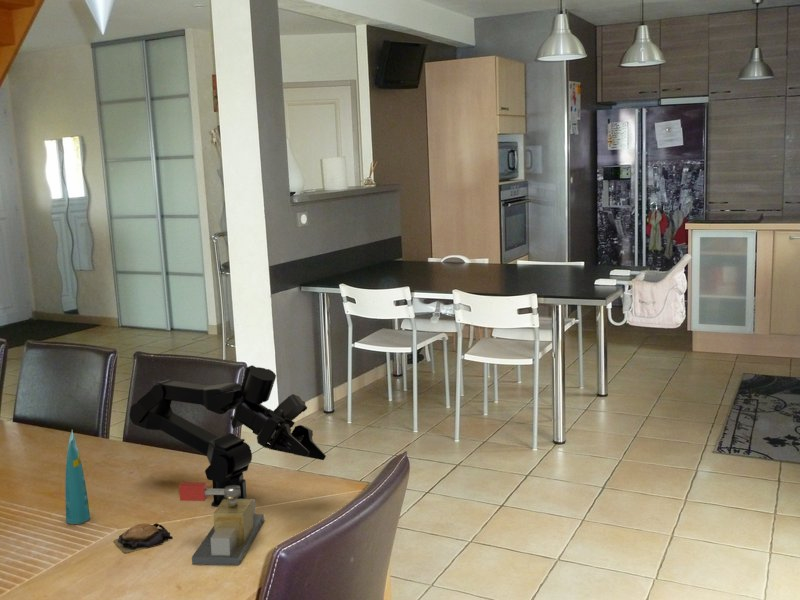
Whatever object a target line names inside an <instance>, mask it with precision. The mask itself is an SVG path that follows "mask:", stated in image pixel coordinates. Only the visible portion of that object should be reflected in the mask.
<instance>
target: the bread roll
mask: <svg viewBox="0 0 800 600" xmlns="http://www.w3.org/2000/svg"><path fill="white" fill-rule="evenodd" d="M158 527H159V528H158ZM170 532H171V531H170ZM170 532H169V531H168V530H167V529H166V528H165V527H164V525H162V524H159V523H157V522H155V523H154V524H150V523H139V524H135V525H133V526H131V527H130V528H128V529H127V530H126V531H124V532H123V533H121V534H119V536H118V538H115V539H114V540H113V541H112V542H113V544H114V545H115V546H116V547H117V548H118V549H119V550H120V552H121V553H123V554H124V555H125V554H130V553H134V552H138V551H142V550H146V549H150V548H153V547H156V546H158V545H162V544H165V543H167V542H170V540H173V539H174V538H173V537H174V536H171V533H170Z"/></svg>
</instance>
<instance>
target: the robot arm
mask: <svg viewBox="0 0 800 600" xmlns="http://www.w3.org/2000/svg"><path fill="white" fill-rule="evenodd" d="M276 378H277V375H276V373H275V372H274V371H273V370H271V369H269V368H268V369H267V368H265V367H260V366H259V367H257V366H255V365H252V364H251V365H248V366H246V367H245V371H244V376H243V380H242V383H241V384H240V383H238V382H227V383H226V382H225V383H220V384H213V385H207V384H200V383H192V382H185V381H184V382H183V381H179V380H178V381H177V380H174V379H171V378H169V379H166V380H163V381H160V382H157V383H155V384H154V385H153V386H152V387H151V389H150V390H149V391H148V392H147V393H146V394H144V395H142V397H141V398H140V399H139V400H137V402H135V403H133V404H132V406H130V409H129V410H130V411H129V419H130V421H131V423H132V424H133V425H134V426H135V427H139V428H141V429H144V430H147V431H159V432H163V433H165V434H166V435H168V436H170V437H172V438H173V439H175V440H177V441H179V442H180V443H182V444H185V445H186V446H188V447H190V448H192V449H193V450H195V451H197V452H199V453H200V454H202V455H204V456H205V457H206V458H207V461H208V463H209V466H208V467H206V468H205V470H204V473H205V476H206V479H207V481H211V482H212V489H224V488H225V487H226V486H230V485H238V486H240V492H241V496H240V497H238V498H237V499H247V498H246V497H247V482H246V481H247V480H246V479H245V478H244V473H245V472H247V471H248V470H249V466H250V464H251V462H252V460H253V454H252V449H251V446H250V445H249V444H248V443H247V442H245V439H244V438H240V437H238V436H237V435H236V434H234V433H232V432H231V433H230V432H229V433H228V434H225V435H223V436H221V437H220V436H217V435H216V434H214V433H212V432H210V431H207V430H205V429H204V428H203V427H200V426H198V425H196V424H194V423H193V422H191V421H189V420H187V419H186V418H184V417H182V416H180V415H178V414H176V413H175V412H174V411H173V408H172V405H173V403H174V402H180V403H187V404H195V405H199V406H200V405H201V406H203V407H204V408H205V409H206V410H207V411H210V412H212V413H215V414H218V415H224V414H226V413H229V412H231V411H234V410H235V411H234V413H233V415H231V416H230V417H229V418H230V421H231V427H232V429H237V428H239V427H241V426H245V427H246V428H247V429H249V430H251V431H252V434H254V435H256V440H257V441H256V442H257V444H258V445H260V446H262V447H263V448H264V449H269V450H271V451H276V452H281V453H285V454H287V453H288V454H293V455H295V456H301V457H304V458H305V457H306V458H310V459H314V460H320V461H324V460H325V459H326V457H327V456H326V454H325V453H324V452H323V451H322V449H320V447H319V446H318V445H317V444H316V443H315V441H313V435H314V432H313V429H311V428H309V427H307V426H305V425H303V424H299V425H296V426H294V425H295V424H296V422H295V421H294V420H295V419H296V418H297V417H298V416H300V415H301V414H302V413H304V412H305V411H307V410H308V406H307V404H306V401H304V400H302V398H301V397H300V396H299V395H296V394H294V393H293V394H290V395H289V396H287V398H285V399H284V400H283V401H282V402H281V403H279V405H277V407H276V408H275V409H274V410H272V409H271V408H268V407H266V406H265V405H263V403H266V402H268V401H269V400H270V397H271V393H272V392H273V391H272V390H273V388H274V384H275V381H276ZM293 426H294V428H293ZM292 428H293V430H292ZM212 496H213V501H212V502H211V504H210V505H211V506H212V507H218V506H219V505H220V503H221V502H222V500H223V499H227V498H225V497H224V495H212Z"/></svg>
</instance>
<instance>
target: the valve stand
mask: <svg viewBox="0 0 800 600" xmlns="http://www.w3.org/2000/svg"><path fill="white" fill-rule="evenodd" d="M216 507H217V508H216V509H215V510H214V511H213V512H212V513H213V514H212V516H213V518H212V519H213V526H212V527H211V529H210V530H209V532H208V533H207V535H206V536H205V538H204V539H203V540H202V542H201V543H200V544H199V546H198V547H197V548H196V551H195V552H194V553H193V554H192V556H191V565H200V566H201V565H204V566H207V565H210V566H211V565H212V566H239V565H240V564H241V562H242V560H243V558H244V557H245V555H246V553H247V551H248V550H249V548H250V546H251V545H252V543H253V540H255V538H256V535H258V532H259V530H260V528H261V527H262V525H263V523H264V522H265V516H264V515H265V513H256V501H255V498H245V499H237V498H235V499H223V500H222V502H221V503H220V505H219V506H216Z"/></svg>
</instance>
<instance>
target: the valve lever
mask: <svg viewBox="0 0 800 600" xmlns="http://www.w3.org/2000/svg"><path fill="white" fill-rule="evenodd" d="M178 486H179V489H178V490H179V501H181V502H182V501H186V502H187V501H189V502H192V501H193V502H205V501H206V500H207V498H208V496H213V495H224V497H225V498H227V499H235V498H238V497H240V496H241V492H240V486H238V485H230V486H226V487H225V488H224V489H213V488H208V487H207V486H208V485H207V482H205V481H202V482H201V481H182V482H181V483H180V484H179V485H178Z"/></svg>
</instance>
